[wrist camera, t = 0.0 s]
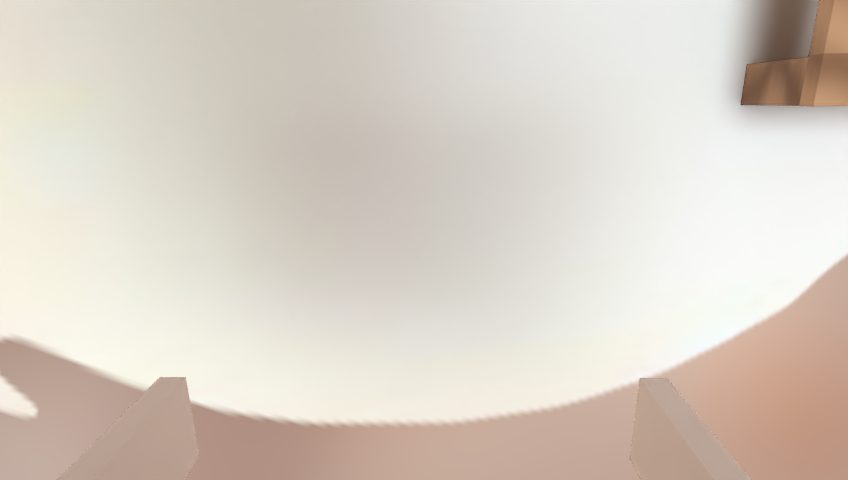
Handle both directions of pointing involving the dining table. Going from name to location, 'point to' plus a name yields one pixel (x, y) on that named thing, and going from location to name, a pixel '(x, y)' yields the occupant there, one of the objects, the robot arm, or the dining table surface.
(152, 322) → the dining table surface
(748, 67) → the keyhole shelf
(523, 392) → the dining table surface
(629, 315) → the dining table surface
